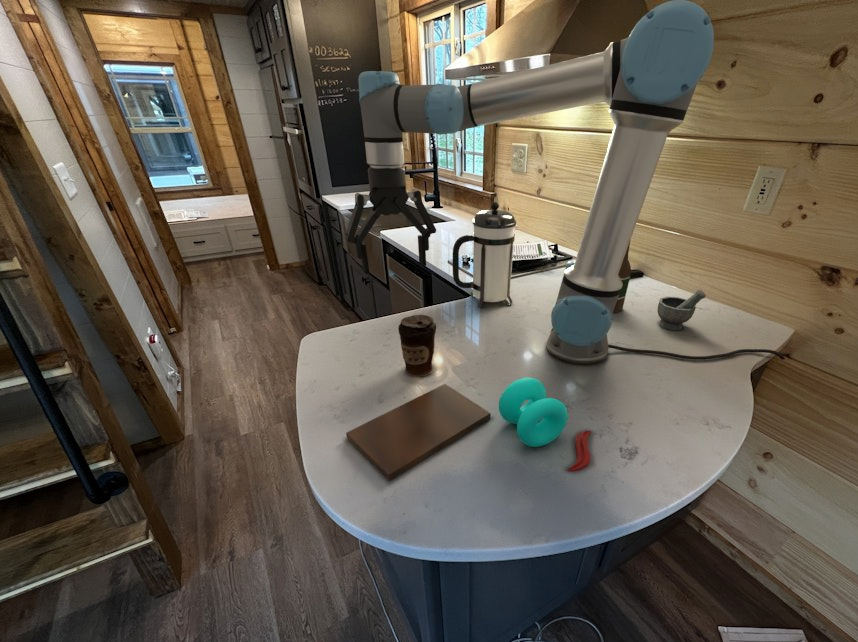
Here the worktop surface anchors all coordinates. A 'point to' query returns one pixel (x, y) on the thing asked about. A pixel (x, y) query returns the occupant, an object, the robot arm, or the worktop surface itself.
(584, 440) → the cayenne pepper
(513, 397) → the donuts
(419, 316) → the coffee cup
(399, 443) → the walnut board
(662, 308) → the mortar and pestle
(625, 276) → the beer bottle
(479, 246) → the coffee press
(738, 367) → the worktop surface
